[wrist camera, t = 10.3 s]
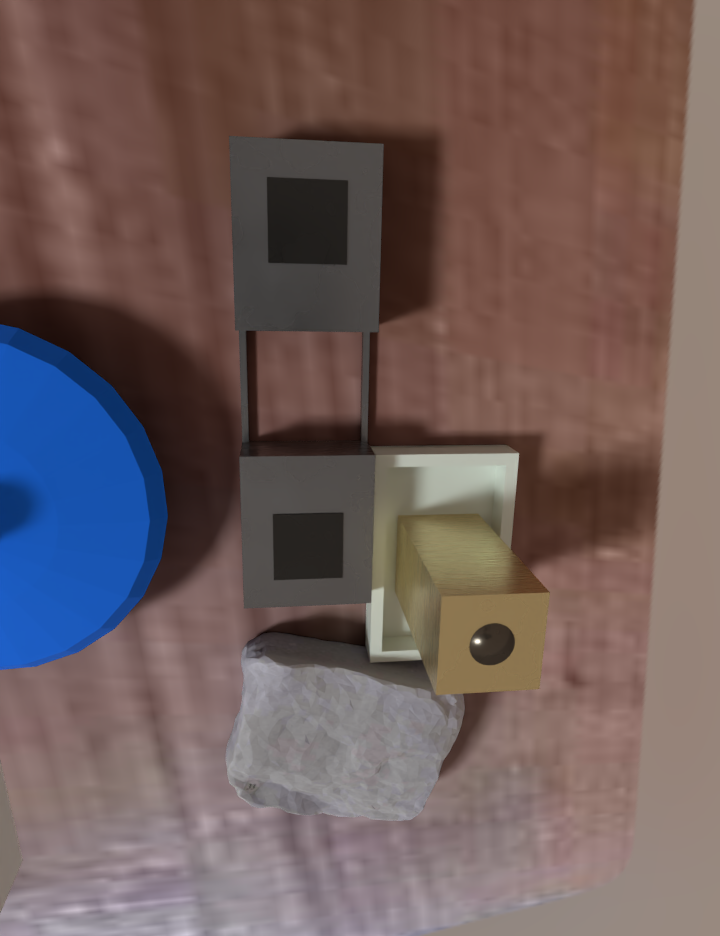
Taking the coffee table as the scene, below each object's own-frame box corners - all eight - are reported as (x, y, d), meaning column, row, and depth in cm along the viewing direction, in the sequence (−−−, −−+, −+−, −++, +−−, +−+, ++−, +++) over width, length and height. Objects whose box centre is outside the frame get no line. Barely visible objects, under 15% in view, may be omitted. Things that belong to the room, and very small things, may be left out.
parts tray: (370, 445, 32) (375, 454, 30) (506, 444, 32) (519, 453, 31) (365, 644, 34) (369, 662, 33) (490, 637, 35) (501, 655, 34)
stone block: (413, 768, 39) (463, 646, 35) (423, 843, 35) (482, 714, 31) (221, 741, 38) (250, 609, 34) (207, 816, 33) (238, 676, 29)
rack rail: (234, 152, 27) (229, 135, 24) (372, 158, 28) (384, 143, 25) (246, 580, 33) (244, 608, 30) (363, 576, 33) (371, 603, 30)
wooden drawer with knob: (397, 515, 32) (441, 597, 24) (478, 513, 33) (550, 592, 24) (394, 591, 33) (435, 695, 25) (472, 588, 34) (539, 689, 25)
